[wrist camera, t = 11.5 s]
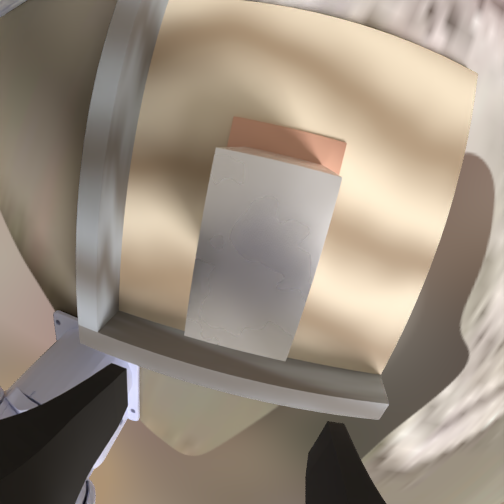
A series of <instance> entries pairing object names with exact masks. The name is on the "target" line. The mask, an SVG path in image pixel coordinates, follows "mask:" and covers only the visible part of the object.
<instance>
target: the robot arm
mask: <svg viewBox="0 0 504 504" xmlns="http://www.w3.org/2000/svg"><path fill="white" fill-rule="evenodd" d="M53 316H54V325H55V332H56V340H57V341H56V342H55V343H54V344H53V345H52V346H51V347H50V348H49V349H48V350H47V351H46V352H45V353H44V354H43V355H42V356H41V357H40V358H39V359H38V360H37V361H36V362H35V363H34V364H33V365H32V366H31V367H30V368H29V369H28V370H27V371H26V372H25V373H24V374H23V375H22V376H21V377H20V378H19V379H18V380H17V381H16V382H15V383H14V384H13V385H12V386H11V387H10V388H9V389H8V390H6V391H3V389H2V388H1V387H0V504H95V496H96V495H95V487H94V485H93V483H92V482H91V481H90V480H89V477H90V475H91V473H92V472H93V470H94V469H95V468H96V467H98V466H99V465H100V464H101V463H102V462H103V461H104V459H105V457H106V456H107V454H108V452H109V450H110V448H111V446H112V445H113V443H114V441H115V439H116V438H117V436H118V434H119V433H120V431H121V429H122V427H123V425H124V423H125V422H126V420H127V418H128V419H130V420H133V421H138V420H139V417H140V411H139V366H138V365H135V364H132V363H129V362H126V361H124V360H121V359H118V358H116V357H113V356H111V355H108V354H106V353H103V352H100V351H98V350H96V349H93V348H91V347H88V346H86V345H84V344H81V343H80V338H79V326H78V318H76V317H74V316H72V315H69V314H67V313H64V312H62V311H60V310H57V311H55V312H54V315H53ZM59 321H60V322H59ZM306 504H386V503H385V501H384V500H383V498H382V497H381V495H380V493H379V492H378V490H377V488H376V487H375V485H374V483H373V482H372V480H371V478H370V476H369V474H368V473H367V471H366V469H365V467H364V465H363V463H362V461H361V459H360V457H359V455H358V453H357V451H356V449H355V447H354V444H353V442H352V440H351V438H350V435H349V433H348V431H347V429H346V427H345V425H344V424H343V423H335V422H329V421H328V422H327V423H326V425H325V427H324V428H323V430H322V432H321V434H320V435H319V437H318V439H317V440H316V442H315V443H314V445H313V447H312V448H311V450H310V451H309V453H308V461H307V469H306Z"/></svg>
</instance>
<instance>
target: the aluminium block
mask: <svg viewBox="0 0 504 504" xmlns="http://www.w3.org/2000/svg"><path fill="white" fill-rule="evenodd" d="M341 181H342V177H341V176H339V175H338V174H336V173H335V172H333V171H331V170H330V169H328V168H327V167H325V166H323V165H321V164H317V163H314V162H310V161H306V160H302V159H298V158H294V157H290V156H286V155H282V154H277V153H273V152H269V151H264V150H260V149H255V148H251V147H216V149H215V154H214V159H213V164H212V169H211V174H210V179H209V184H208V190H207V195H206V200H205V206H204V211H203V217H202V222H201V228H200V234H199V240H198V245H197V252H196V258H195V264H194V270H193V276H192V283H191V290H190V296H189V303H188V310H187V317H186V324H185V332H184V336H188V337H191V338H195V339H198V340H202V341H205V342H209V343H213V344H216V345H220V346H224V347H227V348H231V349H235V350H239V351H243V352H247V353H251V354H255V355H259V356H264V357H268V358H272V359H277V360H281V361H286V359H287V356H288V353H289V351H290V348H291V345H292V342H293V339H294V336H295V333H296V330H297V328H298V325H299V322H300V319H301V316H302V313H303V310H304V307H305V304H306V300H307V297H308V294H309V291H310V288H311V285H312V282H313V279H314V275H315V272H316V269H317V266H318V262H319V259H320V256H321V252H322V249H323V246H324V242H325V239H326V235H327V232H328V229H329V225H330V222H331V218H332V214H333V211H334V207H335V204H336V200H337V196H338V193H339V189H340V185H341Z"/></svg>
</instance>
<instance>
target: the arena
mask: <svg viewBox="0 0 504 504" xmlns="http://www.w3.org/2000/svg"><path fill="white" fill-rule="evenodd" d="M477 76H478V74H477V73H476V72H474V71H472V70H470V69H468V68H466V67H464V66H462V65H460V64H458V63H456V62H454V61H452V60H450V59H448V58H446V57H444V56H442V55H440V54H438V53H435V52H433V51H431V50H429V49H426V48H424V47H422V46H419V45H417V44H414V43H412V42H409V41H407V40H404V39H402V38H399V37H396V36H394V35H391V34H388V33H385V32H382V31H379V30H376V29H373V28H370V27H367V26H364V25H361V24H357V23H354V22H351V21H347V20H343V19H340V18H336V17H332V16H328V15H324V14H320V13H315V12H311V11H306V10H301V9H296V8H291V7H286V6H280V5H274V4H267V3H260V2H252V1H244V0H118V1H117V4H116V7H115V10H114V13H113V16H112V19H111V22H110V26H109V29H108V32H107V36H106V39H105V43H104V46H103V50H102V54H101V58H100V62H99V66H98V70H97V74H96V79H95V83H94V88H93V93H92V98H91V103H90V108H89V114H88V120H87V126H86V132H85V139H84V146H83V154H82V162H81V171H80V181H79V193H78V207H77V228H76V291H77V312H78V326H79V338H80V343H81V344H84V345H86V346H88V347H91V348H93V349H96V350H98V351H100V352H103V353H106V354H108V355H111V356H113V357H116V358H118V359H121V360H124V361H126V362H129V363H132V364H135V365H138V366H140V367H143V368H146V369H149V370H152V371H155V372H158V373H161V374H164V375H167V376H170V377H173V378H177V379H180V380H183V381H186V382H190V383H193V384H197V385H200V386H204V387H207V388H211V389H215V390H218V391H222V392H226V393H230V394H234V395H238V396H242V397H246V398H250V399H255V400H259V401H264V402H268V403H273V404H278V405H283V406H288V407H294V408H299V409H305V410H310V411H316V412H323V413H329V414H336V415H343V416H351V417H359V418H368V419H377V420H379V419H380V417H381V416H382V414H383V413H384V411H385V410H386V408H387V407H388V405H389V401H388V398H387V395H386V391H385V388H384V385H383V381H382V378H381V373H382V371H383V369H384V367H385V365H386V364H387V362H388V360H389V358H390V356H391V354H392V352H393V350H394V348H395V346H396V344H397V342H398V340H399V338H400V336H401V334H402V332H403V329H404V327H405V325H406V323H407V321H408V318H409V316H410V314H411V312H412V309H413V308H414V305H415V303H416V301H417V298H418V296H419V294H420V291H421V288H422V286H423V284H424V281H425V279H426V276H427V274H428V271H429V269H430V266H431V263H432V260H433V258H434V255H435V252H436V250H437V247H438V244H439V241H440V238H441V235H442V232H443V229H444V226H445V223H446V220H447V217H448V213H449V210H450V207H451V203H452V200H453V196H454V192H455V189H456V185H457V182H458V178H459V174H460V170H461V166H462V162H463V158H464V153H465V149H466V144H467V139H468V134H469V129H470V124H471V118H472V112H473V106H474V99H475V92H476V85H477ZM216 147H251V148H255V149H260V150H264V151H269V152H273V153H277V154H282V155H286V156H290V157H294V158H298V159H302V160H306V161H310V162H314V163H317V164H321V165H323V166H325V167H327V168H328V169H330V170H331V171H333V172H335V173H336V174H338V175H339V176H341V177H342V181H341V185H340V189H339V193H338V196H337V200H336V204H335V207H334V211H333V214H332V218H331V222H330V225H329V229H328V232H327V235H326V239H325V242H324V246H323V249H322V252H321V256H320V259H319V262H318V266H317V269H316V272H315V275H314V279H313V282H312V285H311V288H310V291H309V294H308V297H307V300H306V304H305V307H304V310H303V313H302V316H301V319H300V322H299V325H298V328H297V330H296V333H295V336H294V339H293V342H292V345H291V348H290V351H289V353H288V356H287V359H286V361H281V360H277V359H272V358H268V357H264V356H259V355H255V354H251V353H247V352H243V351H239V350H235V349H231V348H227V347H224V346H220V345H216V344H213V343H209V342H205V341H202V340H198V339H195V338H191V337H188V336H184V332H185V324H186V317H187V310H188V303H189V296H190V290H191V283H192V276H193V270H194V264H195V258H196V252H197V245H198V240H199V234H200V228H201V222H202V217H203V211H204V206H205V200H206V195H207V190H208V184H209V179H210V174H211V169H212V164H213V159H214V154H215V149H216Z"/></svg>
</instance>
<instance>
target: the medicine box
mask: <svg viewBox="0 0 504 504" xmlns="http://www.w3.org/2000/svg"><path fill="white" fill-rule="evenodd" d="M25 1H27V0H0V17H2V16H4V15H5V14H6V13H8V12H9V11H11V10H12V9H14V8H16V7H17V6H19V5H20V4H22V3H24V2H25Z"/></svg>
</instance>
